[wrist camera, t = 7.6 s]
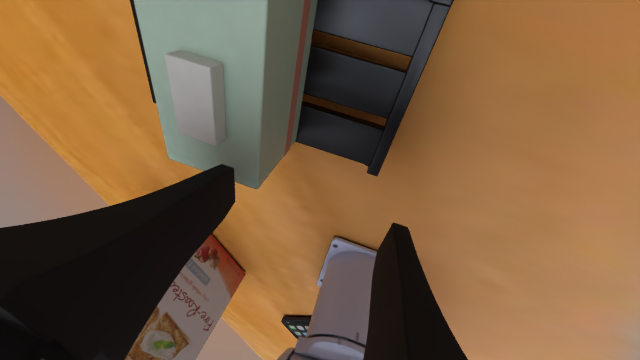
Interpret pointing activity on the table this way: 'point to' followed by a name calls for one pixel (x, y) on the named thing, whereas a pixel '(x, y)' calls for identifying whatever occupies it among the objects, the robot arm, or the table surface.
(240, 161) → the tissue box
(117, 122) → the table surface
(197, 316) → the cracker box
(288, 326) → the smartphone
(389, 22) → the rack
